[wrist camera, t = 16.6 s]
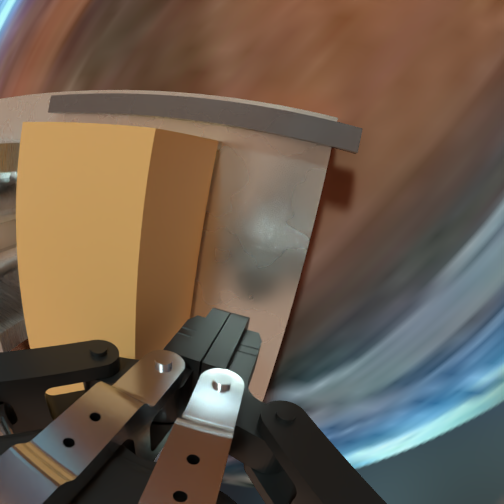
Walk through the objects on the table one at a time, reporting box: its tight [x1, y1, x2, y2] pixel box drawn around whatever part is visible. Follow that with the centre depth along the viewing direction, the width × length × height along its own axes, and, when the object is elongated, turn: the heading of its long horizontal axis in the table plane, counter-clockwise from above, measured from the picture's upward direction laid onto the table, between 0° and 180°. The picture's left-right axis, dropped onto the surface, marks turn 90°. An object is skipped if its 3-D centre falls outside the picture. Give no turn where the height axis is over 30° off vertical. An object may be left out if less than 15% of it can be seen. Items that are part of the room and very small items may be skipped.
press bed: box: [0, 90, 362, 417], centre depth 15 cm, size 28×18×6 cm, turn 78°
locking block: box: [16, 122, 219, 395], centre depth 13 cm, size 6×14×6 cm, turn 168°
